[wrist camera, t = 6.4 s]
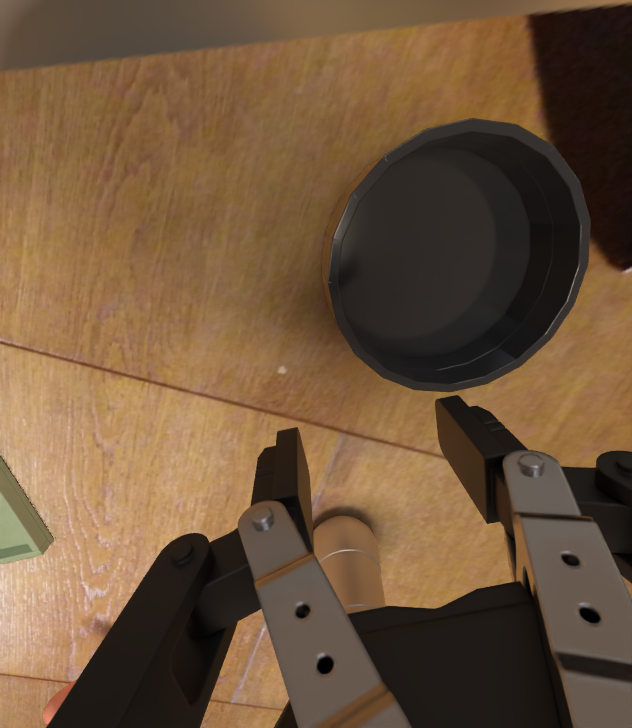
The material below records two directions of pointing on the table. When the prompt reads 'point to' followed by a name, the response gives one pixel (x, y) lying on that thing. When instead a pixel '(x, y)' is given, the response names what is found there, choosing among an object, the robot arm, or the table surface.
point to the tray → (19, 522)
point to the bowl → (456, 255)
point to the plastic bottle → (350, 562)
